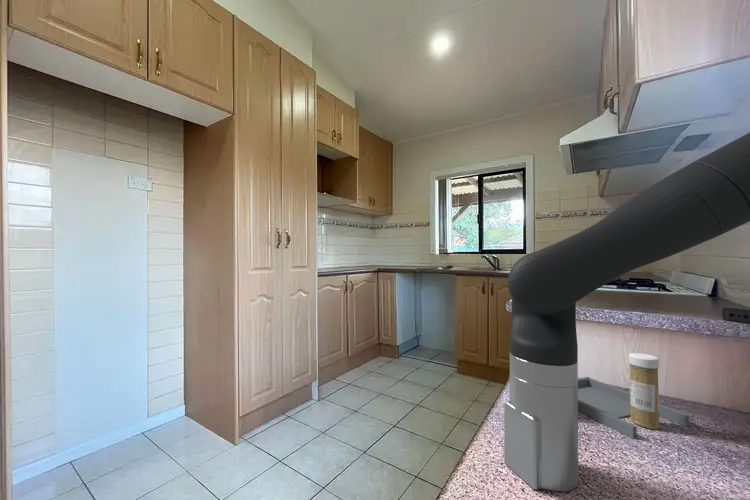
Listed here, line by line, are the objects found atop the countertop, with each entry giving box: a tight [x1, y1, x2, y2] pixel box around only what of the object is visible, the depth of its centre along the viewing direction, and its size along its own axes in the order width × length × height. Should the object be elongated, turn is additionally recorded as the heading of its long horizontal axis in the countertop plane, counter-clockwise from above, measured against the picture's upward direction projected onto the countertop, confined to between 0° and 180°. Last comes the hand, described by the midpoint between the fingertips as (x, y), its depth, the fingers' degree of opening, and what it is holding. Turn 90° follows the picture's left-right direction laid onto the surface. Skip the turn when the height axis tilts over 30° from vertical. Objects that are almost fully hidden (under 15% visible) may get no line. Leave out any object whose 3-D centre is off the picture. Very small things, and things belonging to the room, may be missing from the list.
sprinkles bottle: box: [628, 352, 661, 430], centre depth 62 cm, size 5×5×13 cm
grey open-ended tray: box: [578, 376, 690, 439], centre depth 69 cm, size 16×21×2 cm
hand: (724, 313), depth 52 cm, fingers closed
